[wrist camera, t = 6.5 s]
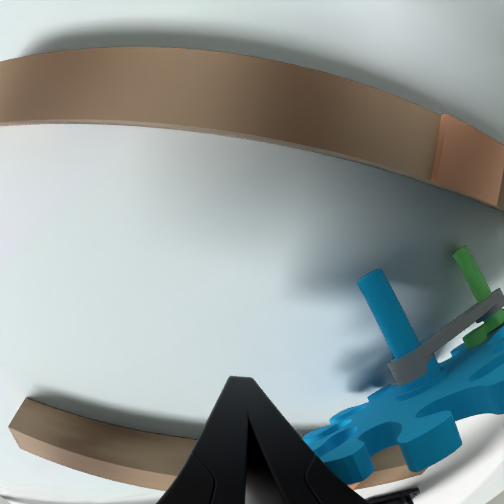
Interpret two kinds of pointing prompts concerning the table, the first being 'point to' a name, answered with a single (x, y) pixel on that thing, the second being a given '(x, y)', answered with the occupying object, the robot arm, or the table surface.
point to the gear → (420, 384)
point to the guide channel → (241, 126)
